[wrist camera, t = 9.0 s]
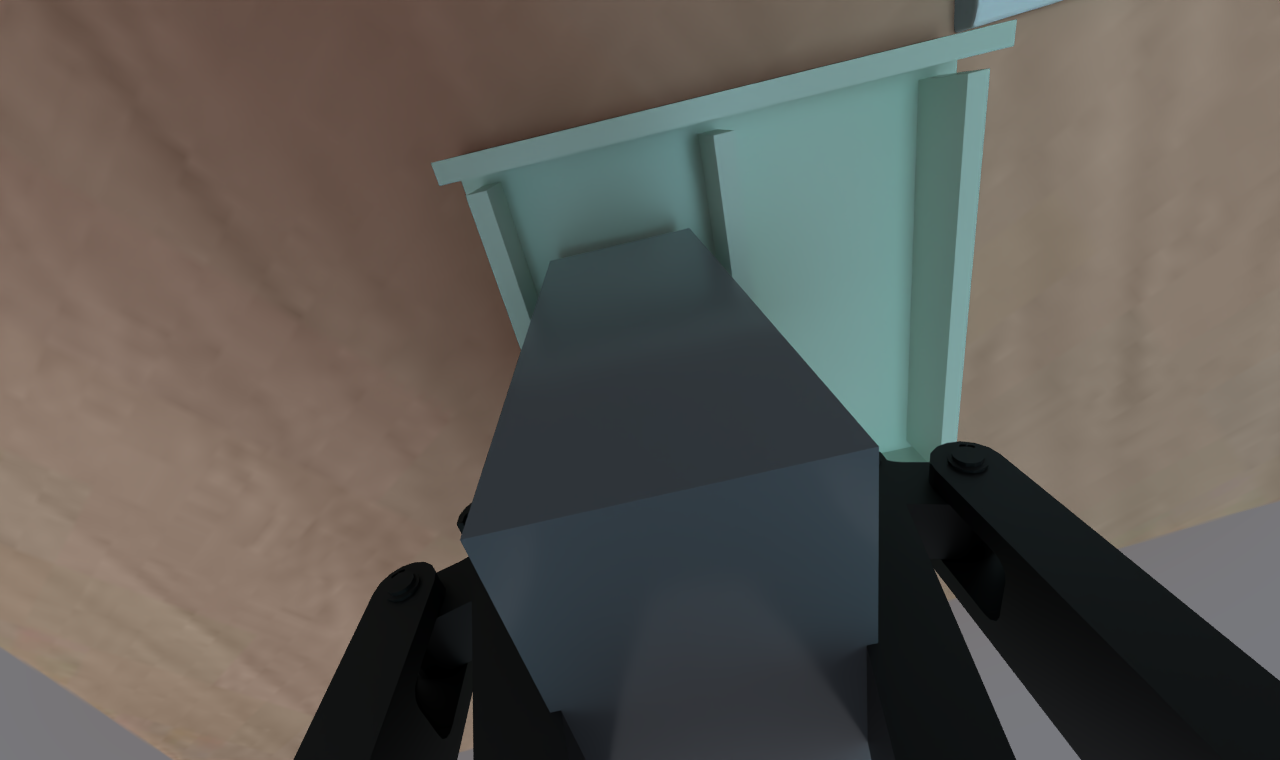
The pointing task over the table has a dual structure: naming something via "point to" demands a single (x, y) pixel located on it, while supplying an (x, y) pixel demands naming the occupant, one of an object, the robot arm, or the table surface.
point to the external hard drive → (991, 11)
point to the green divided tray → (785, 215)
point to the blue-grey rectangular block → (680, 518)
